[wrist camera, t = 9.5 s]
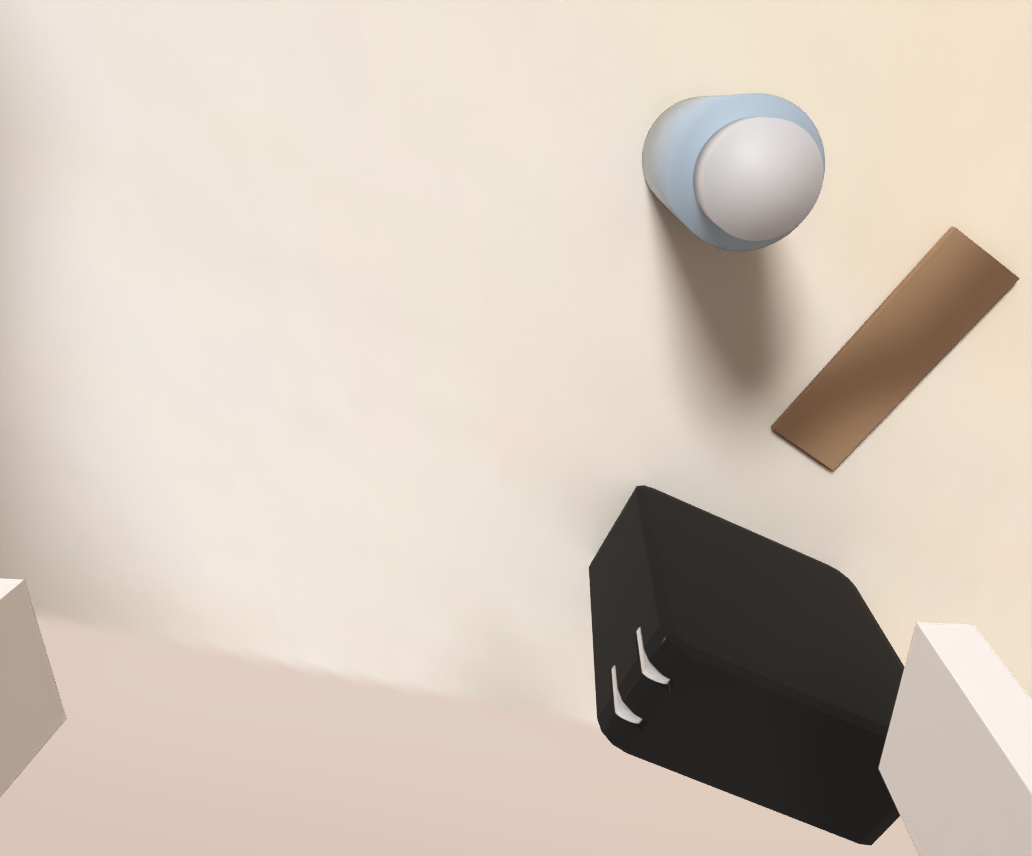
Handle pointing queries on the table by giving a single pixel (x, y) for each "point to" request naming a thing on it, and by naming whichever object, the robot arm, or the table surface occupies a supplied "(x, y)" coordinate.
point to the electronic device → (742, 666)
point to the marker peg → (735, 167)
